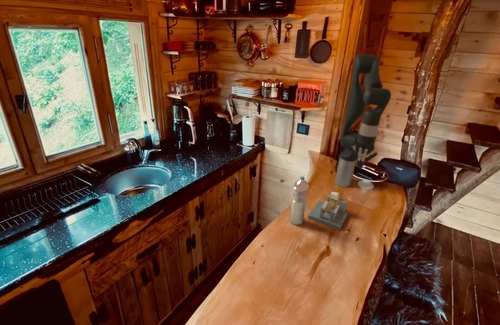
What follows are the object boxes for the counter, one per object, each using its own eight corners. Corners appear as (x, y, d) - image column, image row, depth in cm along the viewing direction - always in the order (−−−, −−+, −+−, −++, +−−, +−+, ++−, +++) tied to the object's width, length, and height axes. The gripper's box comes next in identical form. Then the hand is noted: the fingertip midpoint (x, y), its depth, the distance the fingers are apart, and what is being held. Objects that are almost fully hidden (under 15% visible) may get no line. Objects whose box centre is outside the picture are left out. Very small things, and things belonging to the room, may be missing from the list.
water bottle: (292, 215, 140) (298, 172, 129) (305, 220, 136) (312, 176, 125) (287, 222, 134) (292, 178, 123) (300, 227, 131) (307, 182, 120)
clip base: (318, 203, 150) (320, 191, 147) (348, 213, 143) (351, 200, 139) (307, 218, 138) (310, 205, 134) (339, 230, 130) (342, 216, 127)
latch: (331, 195, 143) (332, 190, 142) (339, 197, 142) (340, 192, 140) (329, 197, 141) (330, 192, 140) (337, 200, 139) (338, 195, 138)
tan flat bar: (331, 199, 144) (331, 197, 143) (337, 201, 142) (337, 199, 142) (323, 211, 133) (323, 210, 133) (329, 213, 132) (329, 212, 131)
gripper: (350, 132, 124) (343, 166, 131) (382, 138, 118) (372, 174, 125) (354, 128, 130) (347, 161, 137) (384, 134, 124) (375, 168, 131)
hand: (359, 167), depth 131 cm, fingers closed
